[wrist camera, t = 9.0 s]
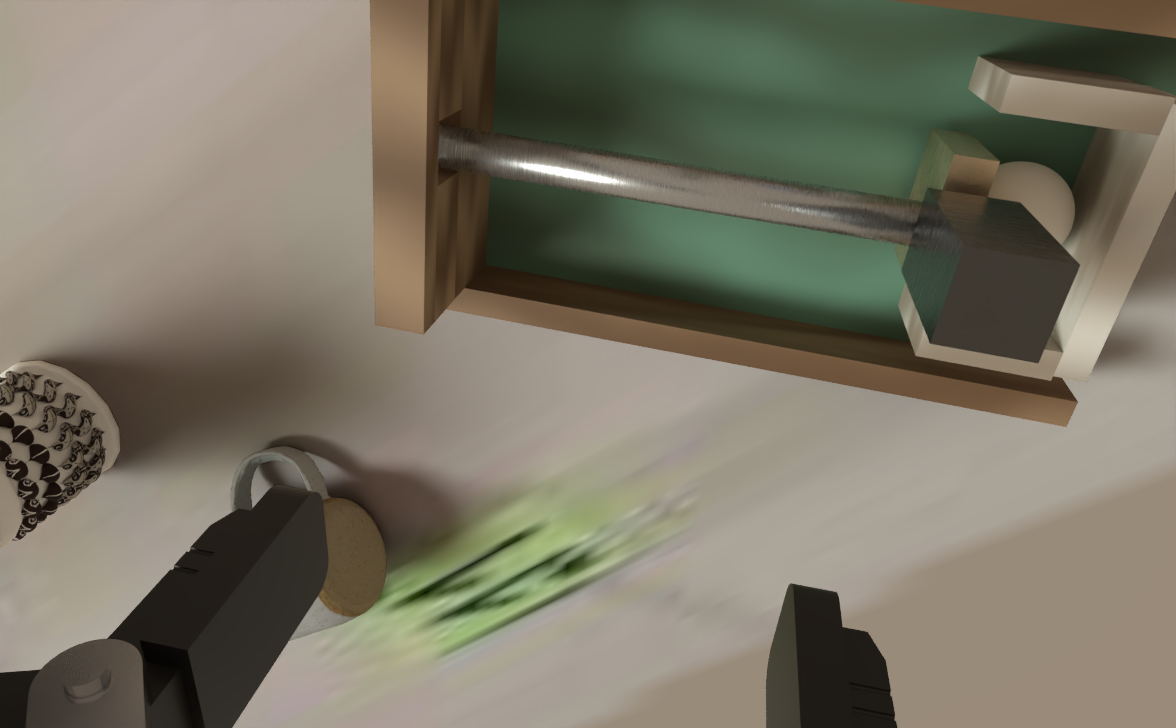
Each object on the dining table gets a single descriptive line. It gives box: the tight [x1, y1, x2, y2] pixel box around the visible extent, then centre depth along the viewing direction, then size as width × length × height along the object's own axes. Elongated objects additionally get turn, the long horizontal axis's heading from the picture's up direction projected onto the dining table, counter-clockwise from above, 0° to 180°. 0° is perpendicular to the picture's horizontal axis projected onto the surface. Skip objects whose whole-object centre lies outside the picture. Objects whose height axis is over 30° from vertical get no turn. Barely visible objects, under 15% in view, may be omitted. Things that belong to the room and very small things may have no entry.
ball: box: [988, 161, 1075, 245], centre depth 31 cm, size 4×4×4 cm
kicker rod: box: [438, 124, 1080, 363], centre depth 29 cm, size 5×22×12 cm, turn 84°
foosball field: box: [370, 0, 1176, 427], centre depth 31 cm, size 16×28×9 cm, turn 83°
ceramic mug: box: [231, 446, 386, 641], centre depth 47 cm, size 11×8×8 cm
